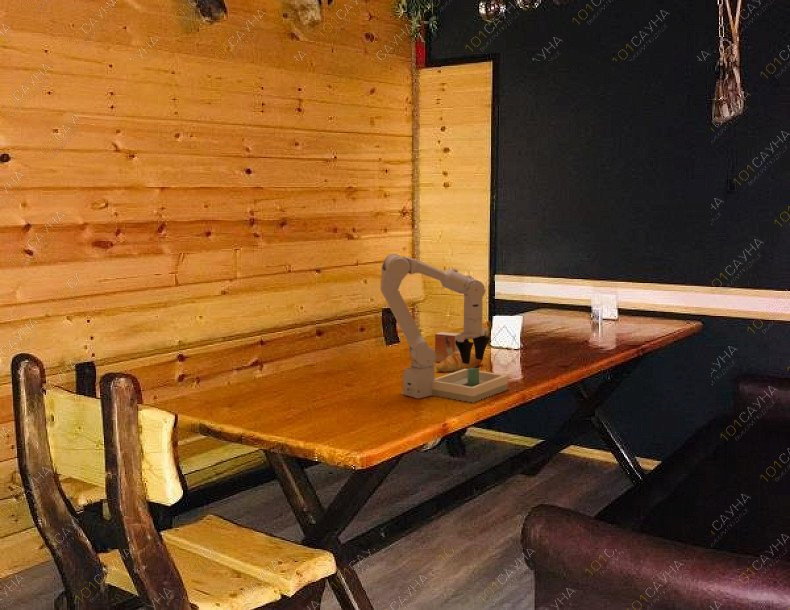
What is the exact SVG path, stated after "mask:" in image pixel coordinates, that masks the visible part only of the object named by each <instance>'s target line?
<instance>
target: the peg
mask: <svg viewBox="0 0 790 610" xmlns="http://www.w3.org/2000/svg"><path fill="white" fill-rule="evenodd" d="M479 371H480V368H478V367H474V368H468V386H470V387H473V386H476V385H478V384H479Z"/></svg>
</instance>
